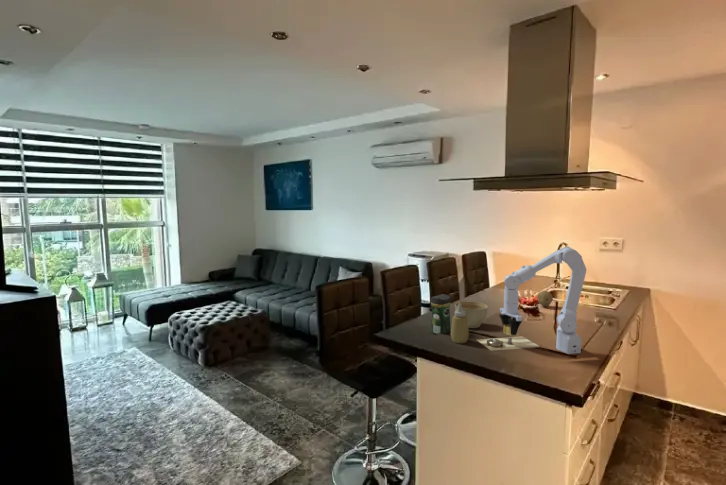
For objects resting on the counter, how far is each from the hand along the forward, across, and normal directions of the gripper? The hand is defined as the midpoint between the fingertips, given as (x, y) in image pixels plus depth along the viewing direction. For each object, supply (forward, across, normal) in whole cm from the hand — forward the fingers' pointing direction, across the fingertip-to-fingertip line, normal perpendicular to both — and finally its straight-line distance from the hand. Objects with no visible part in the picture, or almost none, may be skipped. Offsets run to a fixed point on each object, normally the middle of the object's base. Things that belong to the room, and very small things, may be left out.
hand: (509, 332), depth 177 cm
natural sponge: (+6, -57, +55) cm, 79 cm away
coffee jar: (+6, -24, -23) cm, 34 cm away
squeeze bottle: (+6, -8, -20) cm, 22 cm away
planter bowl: (+6, -31, -4) cm, 32 cm away
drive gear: (+5, 0, -7) cm, 9 cm away
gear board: (+6, -1, 0) cm, 6 cm away
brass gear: (0, 0, 0) cm, 0 cm away
